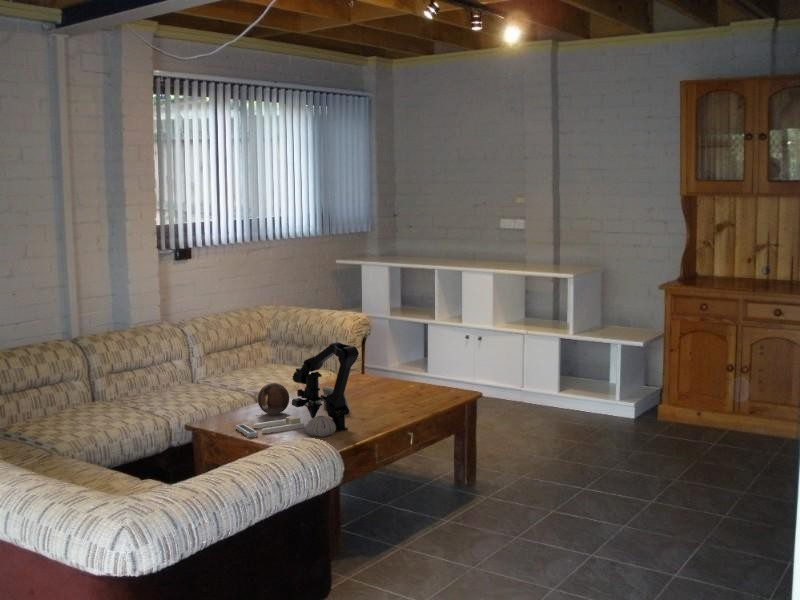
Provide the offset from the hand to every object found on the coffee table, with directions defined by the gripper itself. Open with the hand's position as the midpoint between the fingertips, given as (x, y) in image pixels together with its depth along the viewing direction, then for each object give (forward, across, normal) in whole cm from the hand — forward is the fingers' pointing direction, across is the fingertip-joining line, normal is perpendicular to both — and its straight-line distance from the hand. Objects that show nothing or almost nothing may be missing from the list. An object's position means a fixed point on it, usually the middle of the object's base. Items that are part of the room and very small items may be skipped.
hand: (312, 418), depth 415 cm
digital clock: (+2, -20, -16) cm, 26 cm away
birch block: (+2, +10, 0) cm, 10 cm away
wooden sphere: (+2, +9, -24) cm, 26 cm away
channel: (+2, +17, 0) cm, 17 cm away
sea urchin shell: (+2, +5, +19) cm, 19 cm away
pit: (+2, +32, 0) cm, 33 cm away
